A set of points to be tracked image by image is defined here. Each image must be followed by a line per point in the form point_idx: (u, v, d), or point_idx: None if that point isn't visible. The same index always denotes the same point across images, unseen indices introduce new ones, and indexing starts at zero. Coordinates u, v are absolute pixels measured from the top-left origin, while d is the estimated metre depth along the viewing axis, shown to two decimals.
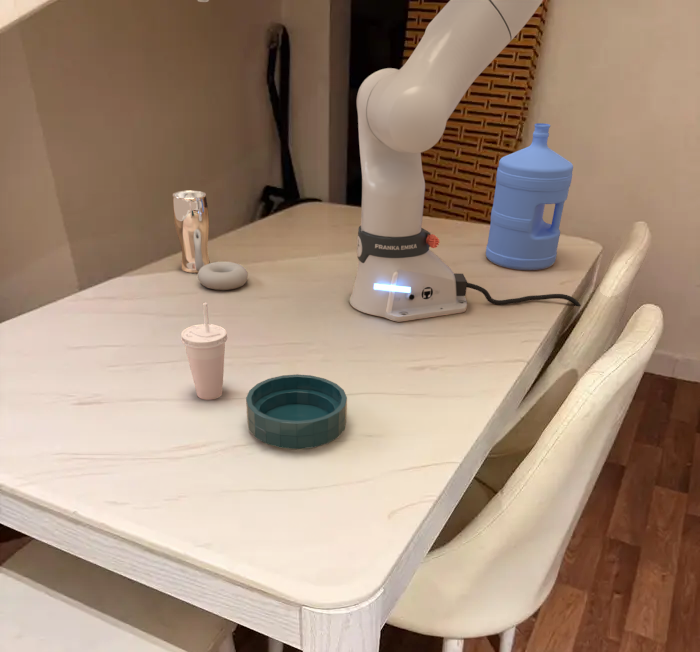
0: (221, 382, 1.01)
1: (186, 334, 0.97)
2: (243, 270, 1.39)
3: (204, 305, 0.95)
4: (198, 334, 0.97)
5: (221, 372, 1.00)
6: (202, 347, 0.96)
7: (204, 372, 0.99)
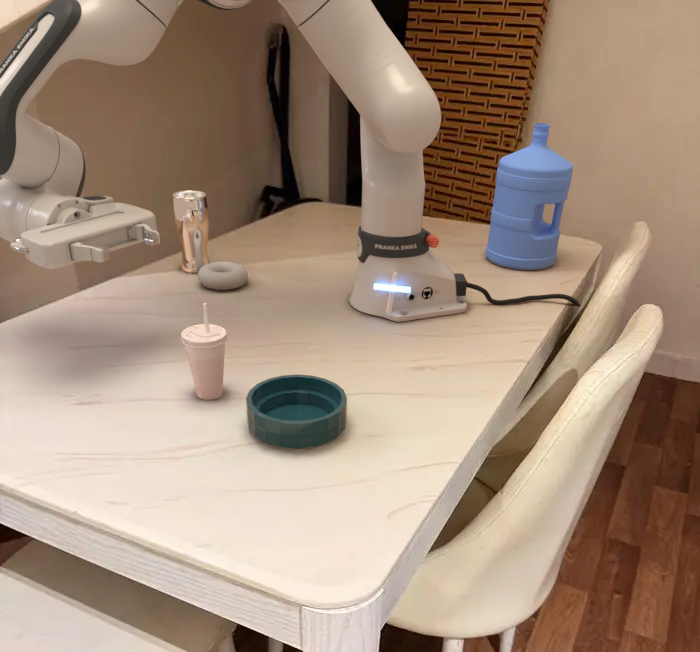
0: (221, 382, 1.01)
1: (186, 334, 0.97)
2: (243, 270, 1.39)
3: (204, 305, 0.95)
4: (198, 334, 0.97)
5: (221, 372, 1.00)
6: (202, 347, 0.96)
7: (204, 372, 0.99)
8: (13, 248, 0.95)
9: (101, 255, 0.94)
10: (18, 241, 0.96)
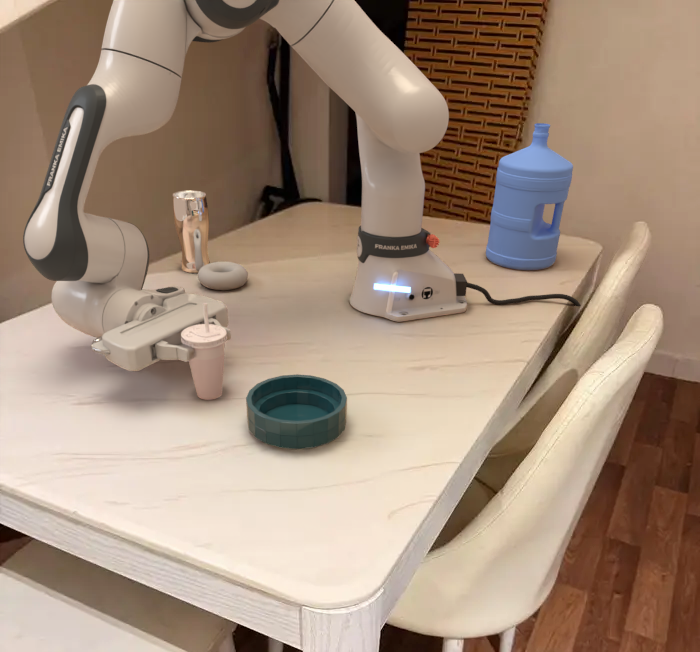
0: (221, 382, 1.01)
1: (186, 334, 0.97)
2: (243, 270, 1.39)
3: (204, 305, 0.95)
4: (198, 334, 0.97)
5: (221, 372, 1.00)
6: (202, 347, 0.96)
7: (204, 372, 0.99)
8: (94, 350, 0.96)
9: (187, 355, 0.95)
10: (98, 342, 0.97)
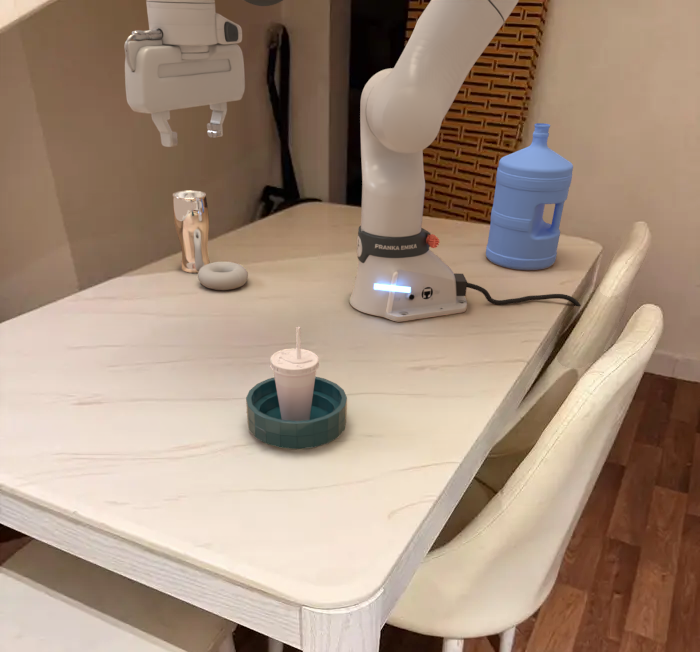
0: (309, 411, 0.94)
1: (276, 360, 0.90)
2: (243, 270, 1.39)
3: (297, 329, 0.88)
4: (289, 360, 0.90)
5: (311, 400, 0.93)
6: (295, 375, 0.89)
7: (294, 401, 0.91)
8: (126, 51, 0.87)
9: (167, 146, 0.97)
10: (137, 43, 0.87)
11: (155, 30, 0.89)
